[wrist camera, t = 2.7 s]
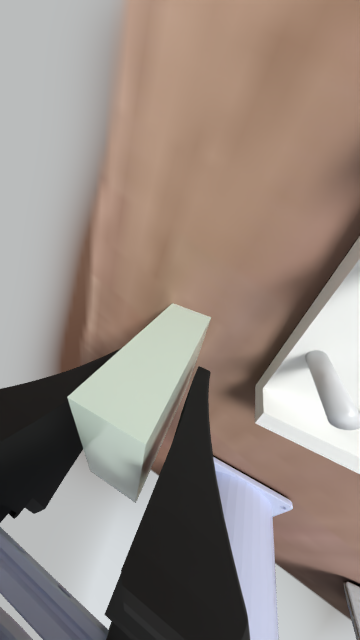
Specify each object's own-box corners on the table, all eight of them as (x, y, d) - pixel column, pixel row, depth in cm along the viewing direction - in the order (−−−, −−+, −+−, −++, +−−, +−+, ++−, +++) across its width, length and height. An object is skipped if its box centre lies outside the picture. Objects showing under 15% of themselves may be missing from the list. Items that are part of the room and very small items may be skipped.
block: (189, 382, 13) (135, 502, 7) (160, 368, 14) (90, 470, 8) (211, 317, 10) (145, 444, 4) (172, 303, 10) (67, 397, 5)
